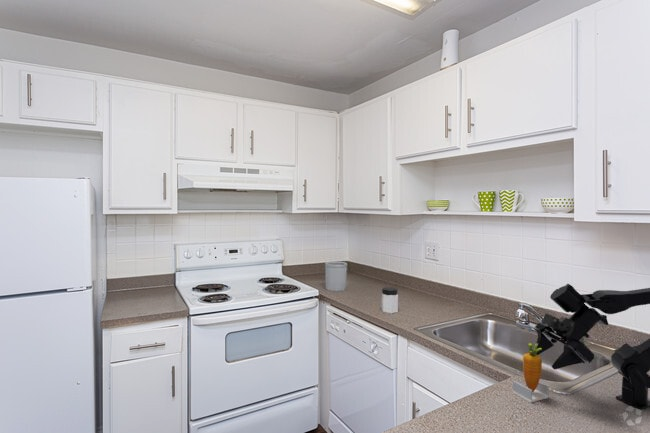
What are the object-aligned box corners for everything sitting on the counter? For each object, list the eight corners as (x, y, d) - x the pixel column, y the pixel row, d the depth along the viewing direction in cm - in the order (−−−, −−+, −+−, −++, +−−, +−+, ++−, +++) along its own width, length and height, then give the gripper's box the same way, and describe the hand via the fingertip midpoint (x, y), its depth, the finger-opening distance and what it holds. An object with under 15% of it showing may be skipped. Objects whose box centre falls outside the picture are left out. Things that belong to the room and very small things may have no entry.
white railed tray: (530, 388, 112) (530, 377, 112) (548, 397, 107) (548, 386, 107) (512, 392, 110) (512, 381, 109) (530, 402, 104) (530, 390, 104)
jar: (380, 308, 199) (380, 286, 199) (395, 308, 200) (395, 286, 199) (383, 313, 190) (383, 290, 190) (399, 313, 191) (399, 290, 190)
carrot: (534, 388, 111) (536, 339, 110) (544, 396, 106) (546, 345, 105) (518, 388, 110) (519, 339, 110) (527, 397, 106) (529, 345, 105)
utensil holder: (349, 290, 242) (350, 264, 241) (328, 291, 237) (328, 265, 237) (342, 286, 256) (343, 261, 255) (322, 287, 252) (322, 261, 251)
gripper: (541, 297, 117) (507, 331, 117) (584, 314, 98) (544, 355, 98) (564, 321, 118) (530, 355, 117) (612, 342, 99) (572, 383, 99)
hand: (542, 361), depth 108 cm, fingers open, 9 cm apart
